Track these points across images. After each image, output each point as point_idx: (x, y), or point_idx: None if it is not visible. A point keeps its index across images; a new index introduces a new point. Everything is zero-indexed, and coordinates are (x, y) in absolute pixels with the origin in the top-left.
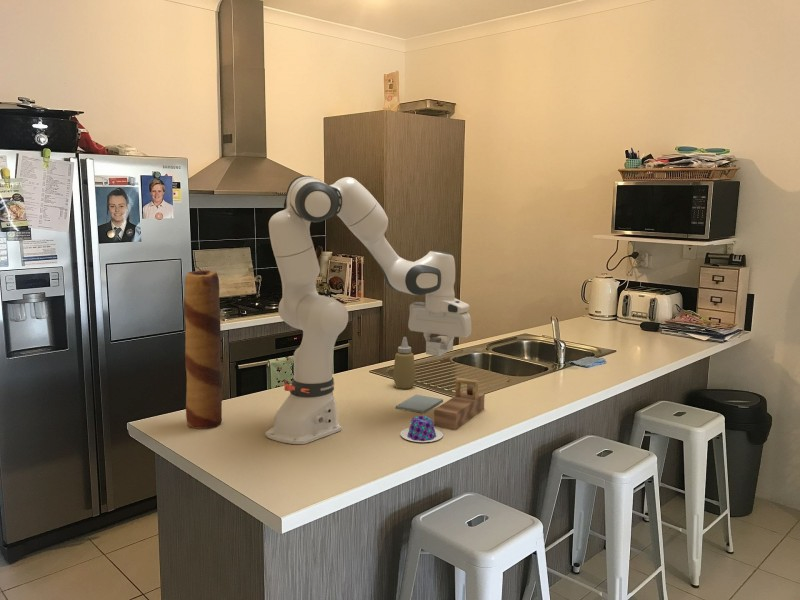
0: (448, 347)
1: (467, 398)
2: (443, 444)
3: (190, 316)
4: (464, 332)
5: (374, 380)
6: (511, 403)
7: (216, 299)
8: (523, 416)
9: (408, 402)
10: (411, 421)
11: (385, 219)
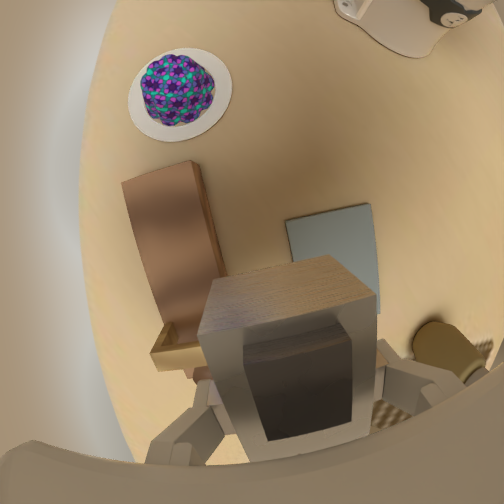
0: (199, 396)
1: (188, 320)
2: (111, 96)
3: None
4: (3, 459)
5: (477, 317)
6: (181, 409)
7: None
8: (110, 361)
9: (362, 250)
10: (188, 56)
11: None
